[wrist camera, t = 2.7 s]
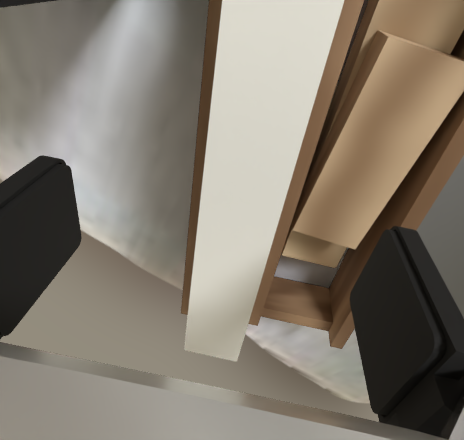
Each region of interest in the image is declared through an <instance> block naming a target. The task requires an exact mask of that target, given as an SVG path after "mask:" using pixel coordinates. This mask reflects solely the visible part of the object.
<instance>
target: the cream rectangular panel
mask: <svg viewBox="0 0 464 440" xmlns="http://www.w3.org/2000/svg"><path fill="white" fill-rule="evenodd" d="M343 4H344V0H222V8H221V17H220V26H219V35H218V44H217V53H216V62H215V71H214V80H213V89H212V99H211V108H210V117H209V126H208V135H207V144H206V153H205V162H204V171H203V180H202V190H201V199H200V208H199V217H198V226H197V235H196V244H195V253H194V262H193V271H192V281H191V290H190V299H189V308H188V318H187V326H186V335H185V344H184V350H186V351H190V352H194V353H199V354H204V355H208V356H212V357H217V358H222V359H227V360H231V361H236V362H237V360H238V357H239V353H240V350H241V346H242V343H243V340H244V336H245V333H246V330H247V326H248V323H249V320H250V316H251V313H252V310H253V306H254V303H255V300H256V296H257V293H258V289H259V286H260V283H261V279H262V276H263V273H264V269H265V266H266V263H267V259H268V256H269V252H270V249H271V246H272V242H273V239H274V236H275V232H276V229H277V226H278V222H279V219H280V215H281V212H282V209H283V205H284V202H285V199H286V195H287V192H288V189H289V185H290V182H291V178H292V175H293V172H294V168H295V165H296V162H297V158H298V155H299V152H300V148H301V145H302V141H303V138H304V135H305V131H306V128H307V125H308V121H309V118H310V115H311V111H312V108H313V104H314V101H315V98H316V94H317V91H318V88H319V84H320V81H321V78H322V74H323V71H324V67H325V64H326V61H327V57H328V54H329V51H330V47H331V44H332V41H333V37H334V34H335V30H336V27H337V24H338V20H339V17H340V14H341V10H342V7H343Z"/></svg>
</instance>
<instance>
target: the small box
mask: <svg viewBox="0 0 464 440" xmlns="http://www.w3.org/2000/svg"><path fill="white" fill-rule="evenodd" d="M47 1H55V0H0V7H8V6H17V5H23V4H32V3H40V2H47Z"/></svg>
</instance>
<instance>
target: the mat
mask: <svg viewBox="0 0 464 440" xmlns="http://www.w3.org/2000/svg"><path fill="white" fill-rule="evenodd" d="M416 231H417V232H418V234H419V235H420V237H421V239H422V241H423V243H424V245H425V247H426V249H427V250H428V252H429V254H430V256H431V258H432V260H433V262H434V263H435V265H436V267H437V269H438V271H439V273H440V275H441V277H442V278H443V280H444V282H445V284H446V286H447V288H448V290H449V291H450V293H451V295H452V297H453V299H454V301H455V303H456V305H457V306H458V308H459V310H460V312H461V314H462V316H463V318H464V156H463V157H462V159H461V160H460V162H459V164H458V165H457V167H456V168H455V170H454V172H453V173H452V175H451V176H450V178H449V180H448V181H447V183H446V184H445V186H444V187H443V189H442V191H441V192H440V194H439V195H438V197H437V199H436V200H435V202H434V203H433V205H432V207H431V208H430V210H429V211H428V213H427V214H426V216H425V218H424V219H423V221H422V222H421V224H420V226H419V227H418V229H417V230H416Z"/></svg>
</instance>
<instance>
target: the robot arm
mask: <svg viewBox="0 0 464 440" xmlns="http://www.w3.org/2000/svg"><path fill="white" fill-rule="evenodd" d="M80 242H81V230H80V224H79V217H78V211H77V204H76V198H75V192H74V185H73V179H72V172H71V168H70V167H69V166H68V165H66V163H65V162H64V160H62V159H58V158H53V157H48V156H39V157H37V158H36V159H35V160H33V161H32V162H30V163H29V164H27V165H26V166H25V167H23V168H22V169H20V170H19V171H18V172H16V173H15V174H13V175H12V176H10V177H9V178H8V179H6V180H5V181H3V182H2V183H1V184H0V339H1V337H3V336H6V335H9V334H10V333H11V332H12V331H13V329H14V328H15V327H16V326H17V325H18V323H19V322H20V321H21V319H22V318H23V317H24V316H25V314H26V313H27V312H28V310H29V309H30V308H31V307H32V305H33V304H34V303H35V302H36V300H37V299H38V298H39V297H40V295H41V294H42V293H43V291H44V290H45V289H46V288H47V286H48V285H49V284H50V283H51V281H52V280H53V279H54V277H55V276H56V275H57V274H58V272H59V271H60V270H61V268H62V267H63V266H64V265H65V263H66V262H67V261H68V260H69V258H70V257H71V256H72V254H73V253H74V252H75V250H76V249H77V248H78V246H79V245H80ZM350 306H351V311H352V316H353V321H354V326H355V331H356V336H357V341H358V346H359V351H360V355H361V360H362V365H363V370H364V375H365V380H366V385H367V390H368V395H369V400H370V405H371V408H372V410H373V412H374V413H376V414H378V418H379V422H376V421H371V420H367V419H363V418H358V417H354V416H350V415H345V414H341V413H336V412H332V411H327V410H322V409H318V408H312V407H308V406H304V405H299V404H294V403H290V402H285V401H280V400H276V399H271V398H266V397H261V396H257V395H252V394H248V393H243V392H238V391H233V390H229V389H224V388H219V387H214V386H210V385H205V384H200V383H196V382H191V381H186V380H181V379H176V378H171V377H167V376H162V375H157V374H152V373H148V372H143V371H138V370H133V369H128V368H124V367H118V366H114V365H109V364H105V363H99V362H95V361H90V360H85V359H80V358H75V357H70V356H65V355H61V354H56V353H51V352H46V351H40V350H36V349H31V348H26V347H21V346H16V345H12V344H7V343H2V342H0V440H464V318H463V316H462V314H461V312H460V310H459V308H458V306H457V305H456V303H455V301H454V299H453V297H452V295H451V293H450V291H449V290H448V288H447V286H446V284H445V282H444V280H443V278H442V277H441V275H440V273H439V271H438V269H437V267H436V265H435V263H434V262H433V260H432V258H431V256H430V254H429V252H428V250H427V249H426V247H425V245H424V243H423V241H422V239H421V237H420V235H419V234H418V232H417V231H416V230H414V229H409V228H404V227H399V226H393V227H392V228H391V229H390V230H388V229H387V230H385V231H384V232H383V233H382V235H381V237H380V239H379V241H378V243H377V244H376V246H375V248H374V250H373V252H372V254H371V255H370V257H369V259H368V261H367V263H366V265H365V266H364V268H363V270H362V272H361V274H360V276H359V278H358V279H357V281H356V283H355V285H354V287H353V289H352V291H351V293H350Z"/></svg>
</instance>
